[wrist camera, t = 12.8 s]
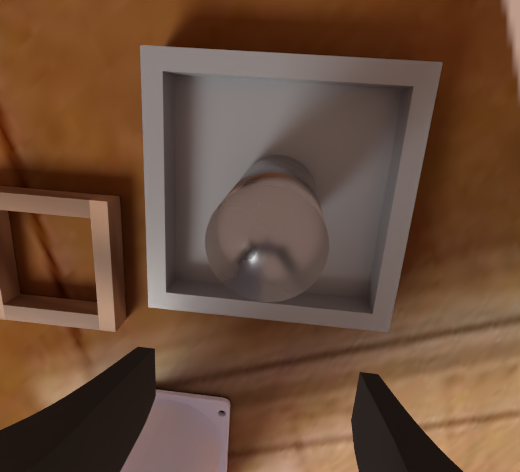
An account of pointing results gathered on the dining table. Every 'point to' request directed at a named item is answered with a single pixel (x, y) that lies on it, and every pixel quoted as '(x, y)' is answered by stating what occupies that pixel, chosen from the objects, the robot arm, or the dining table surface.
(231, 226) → the pin
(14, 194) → the socket block
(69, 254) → the dining table surface
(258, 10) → the dining table surface
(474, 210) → the dining table surface
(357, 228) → the tray
